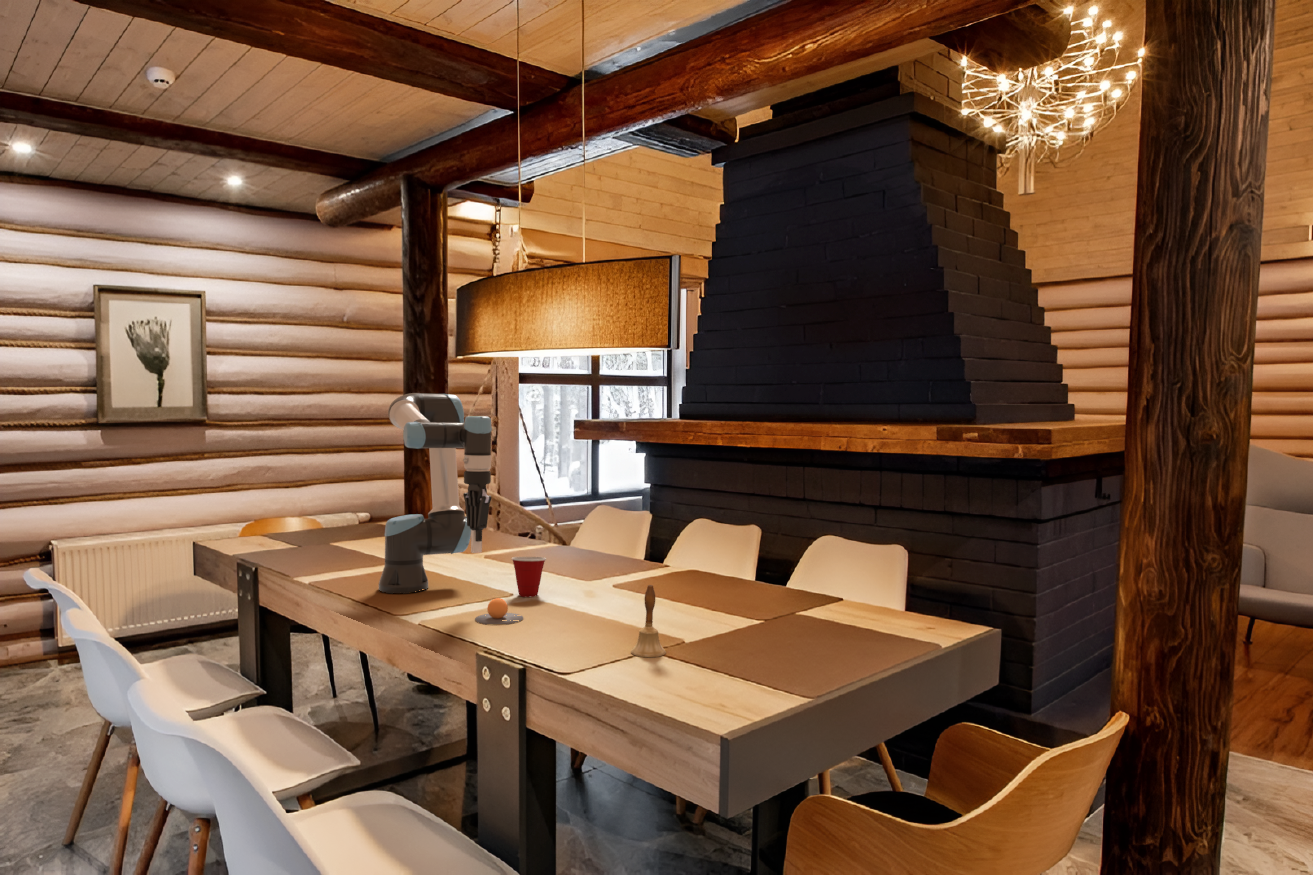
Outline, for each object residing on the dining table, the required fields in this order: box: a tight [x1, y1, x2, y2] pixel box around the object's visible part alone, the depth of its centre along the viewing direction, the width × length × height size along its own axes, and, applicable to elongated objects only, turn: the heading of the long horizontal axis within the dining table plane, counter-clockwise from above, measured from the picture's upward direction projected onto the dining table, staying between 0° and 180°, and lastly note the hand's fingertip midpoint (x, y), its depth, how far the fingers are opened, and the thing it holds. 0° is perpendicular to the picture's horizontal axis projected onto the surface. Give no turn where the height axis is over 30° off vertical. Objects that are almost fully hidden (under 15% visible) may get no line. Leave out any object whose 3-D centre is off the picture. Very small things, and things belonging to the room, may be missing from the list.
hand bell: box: [630, 584, 667, 658], centre depth 191 cm, size 8×8×16 cm
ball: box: [486, 597, 509, 619], centre depth 222 cm, size 6×6×6 cm
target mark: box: [474, 612, 524, 625], centre depth 221 cm, size 13×13×1 cm
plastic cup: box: [511, 556, 547, 598], centre depth 252 cm, size 11×11×12 cm
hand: (476, 552), depth 232 cm, fingers closed
